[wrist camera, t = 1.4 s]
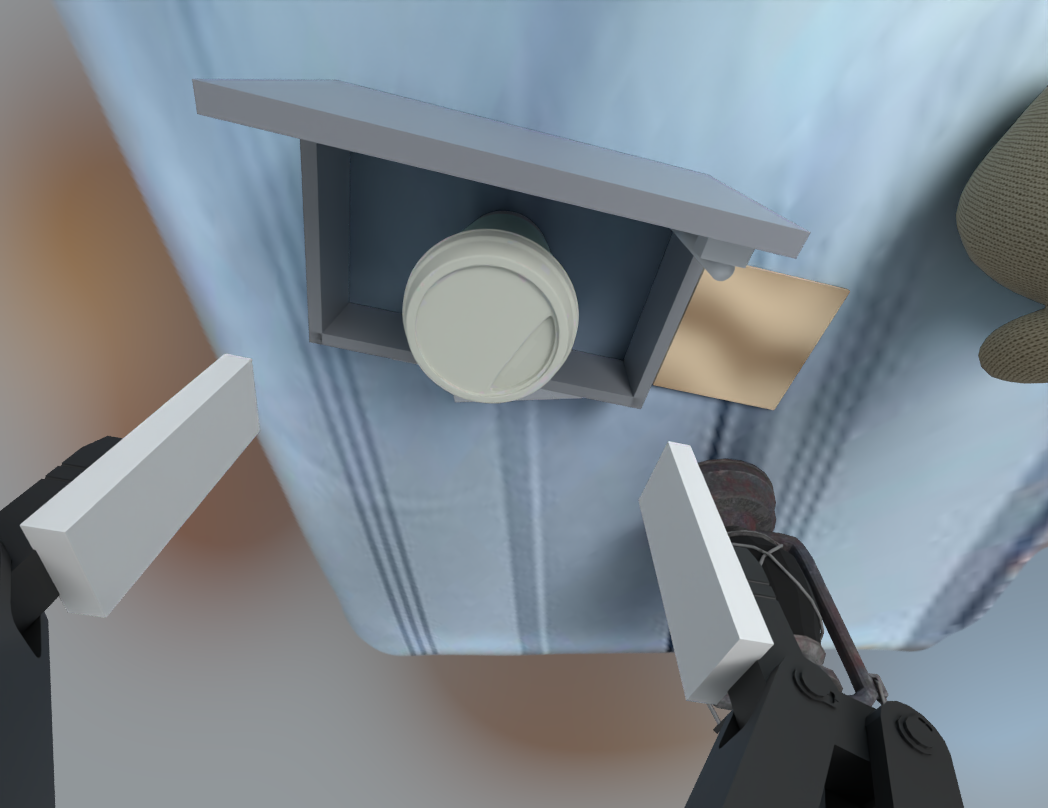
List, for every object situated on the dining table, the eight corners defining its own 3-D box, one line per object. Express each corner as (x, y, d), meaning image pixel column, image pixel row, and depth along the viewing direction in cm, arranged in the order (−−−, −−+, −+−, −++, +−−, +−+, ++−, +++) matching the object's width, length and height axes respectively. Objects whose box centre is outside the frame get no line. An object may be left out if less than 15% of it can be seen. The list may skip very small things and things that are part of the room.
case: (335, 79, 26) (192, 78, 15) (708, 174, 28) (810, 232, 17) (337, 317, 34) (244, 425, 24) (627, 378, 36) (662, 502, 26)
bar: (457, 393, 38) (454, 402, 37) (454, 381, 37) (452, 389, 36) (581, 389, 38) (582, 398, 37) (581, 377, 37) (582, 385, 36)
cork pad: (708, 255, 31) (709, 257, 31) (847, 289, 32) (850, 291, 32) (652, 382, 36) (653, 384, 36) (772, 407, 37) (774, 410, 37)
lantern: (637, 539, 47) (743, 1053, 22) (650, 458, 41) (816, 1037, 16) (765, 540, 46) (1020, 1068, 22) (797, 458, 40) (1202, 1057, 16)
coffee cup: (474, 332, 35) (446, 432, 25) (417, 218, 30) (355, 285, 20) (585, 291, 33) (604, 383, 23) (542, 163, 28) (541, 207, 18)
